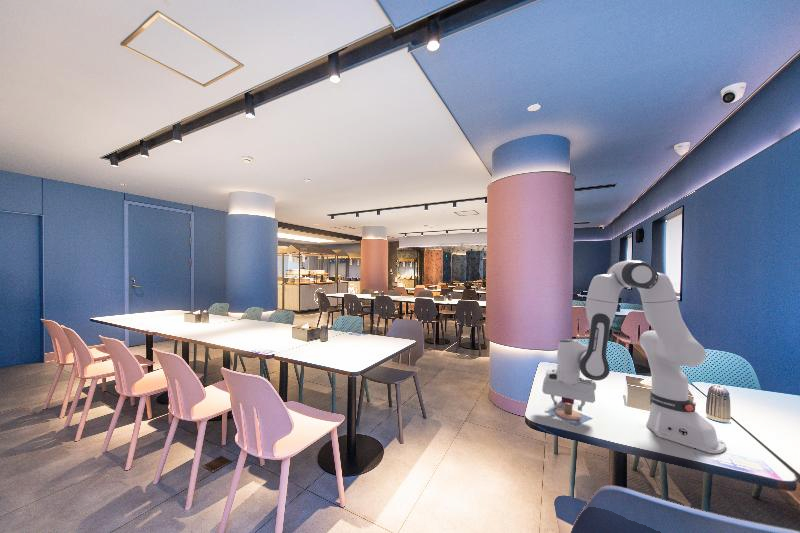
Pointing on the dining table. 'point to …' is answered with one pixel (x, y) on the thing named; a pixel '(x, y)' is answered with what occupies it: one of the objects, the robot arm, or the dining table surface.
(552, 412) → the mat
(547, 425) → the dining table surface
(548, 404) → the dining table surface
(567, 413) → the lid
